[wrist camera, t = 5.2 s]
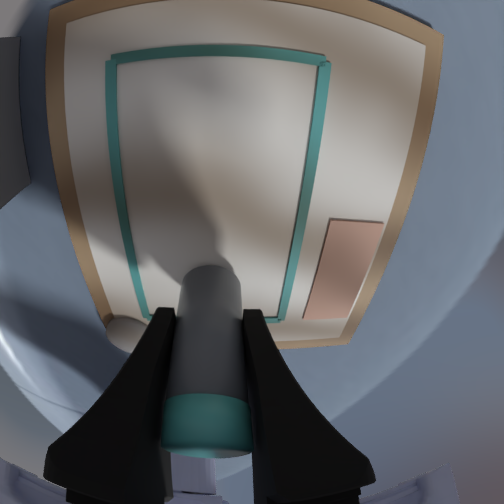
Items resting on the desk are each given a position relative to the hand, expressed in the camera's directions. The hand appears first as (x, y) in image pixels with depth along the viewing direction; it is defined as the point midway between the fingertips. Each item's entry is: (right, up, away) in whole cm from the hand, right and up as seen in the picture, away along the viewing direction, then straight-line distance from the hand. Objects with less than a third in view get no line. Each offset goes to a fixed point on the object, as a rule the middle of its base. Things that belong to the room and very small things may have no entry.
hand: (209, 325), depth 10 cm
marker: (0, +1, +2) cm, 2 cm away
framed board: (+1, +5, 0) cm, 5 cm away
